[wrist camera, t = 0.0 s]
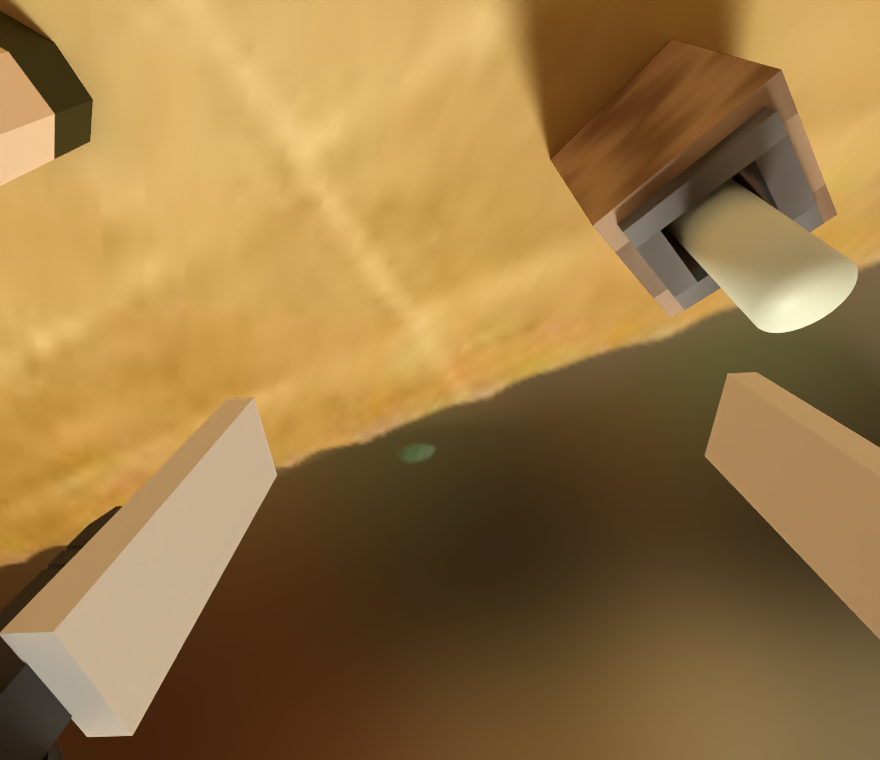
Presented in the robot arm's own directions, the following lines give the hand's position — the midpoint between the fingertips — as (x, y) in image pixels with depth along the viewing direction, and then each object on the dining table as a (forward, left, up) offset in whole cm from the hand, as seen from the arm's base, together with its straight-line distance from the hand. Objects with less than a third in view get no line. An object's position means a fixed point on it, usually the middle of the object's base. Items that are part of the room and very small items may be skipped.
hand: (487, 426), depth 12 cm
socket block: (-9, +12, -28) cm, 32 cm away
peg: (-9, +12, -20) cm, 25 cm away
